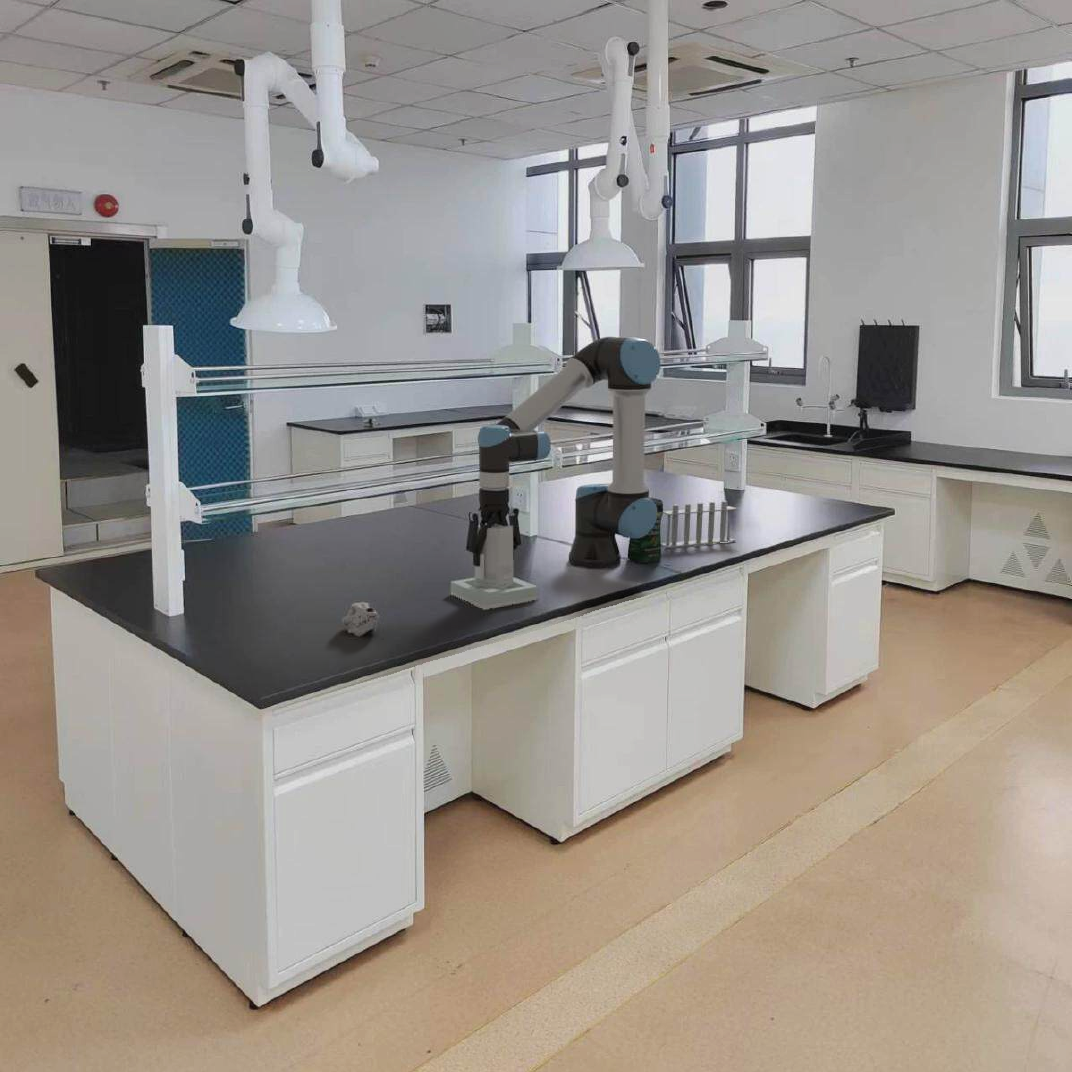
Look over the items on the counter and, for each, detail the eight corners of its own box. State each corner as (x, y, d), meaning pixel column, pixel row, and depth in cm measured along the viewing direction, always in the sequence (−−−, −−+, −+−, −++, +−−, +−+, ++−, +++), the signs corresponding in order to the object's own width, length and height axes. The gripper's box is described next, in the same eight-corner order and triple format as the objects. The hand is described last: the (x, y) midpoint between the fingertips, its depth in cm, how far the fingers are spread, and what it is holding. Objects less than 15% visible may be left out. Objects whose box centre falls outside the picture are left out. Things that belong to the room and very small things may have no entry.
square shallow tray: (502, 585, 275) (502, 572, 274) (537, 599, 262) (537, 586, 261) (450, 594, 266) (450, 581, 265) (484, 609, 253) (484, 596, 252)
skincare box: (514, 585, 263) (515, 525, 260) (498, 590, 258) (499, 529, 255) (488, 580, 268) (489, 521, 265) (472, 585, 263) (473, 525, 260)
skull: (366, 611, 242) (382, 586, 233) (375, 645, 238) (391, 621, 229) (334, 614, 238) (349, 589, 229) (342, 648, 234) (358, 624, 225)
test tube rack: (727, 539, 332) (730, 499, 329) (735, 542, 328) (738, 501, 325) (660, 546, 322) (661, 504, 319) (667, 549, 318) (669, 507, 315)
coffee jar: (639, 565, 297) (642, 502, 293) (623, 559, 304) (625, 497, 300) (666, 561, 302) (668, 499, 298) (649, 555, 309) (651, 494, 305)
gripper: (519, 481, 267) (518, 567, 272) (450, 489, 255) (451, 578, 260) (536, 486, 261) (535, 573, 266) (466, 493, 249) (466, 585, 254)
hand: (493, 575), depth 263 cm, fingers closed on skincare box, 8 cm apart
